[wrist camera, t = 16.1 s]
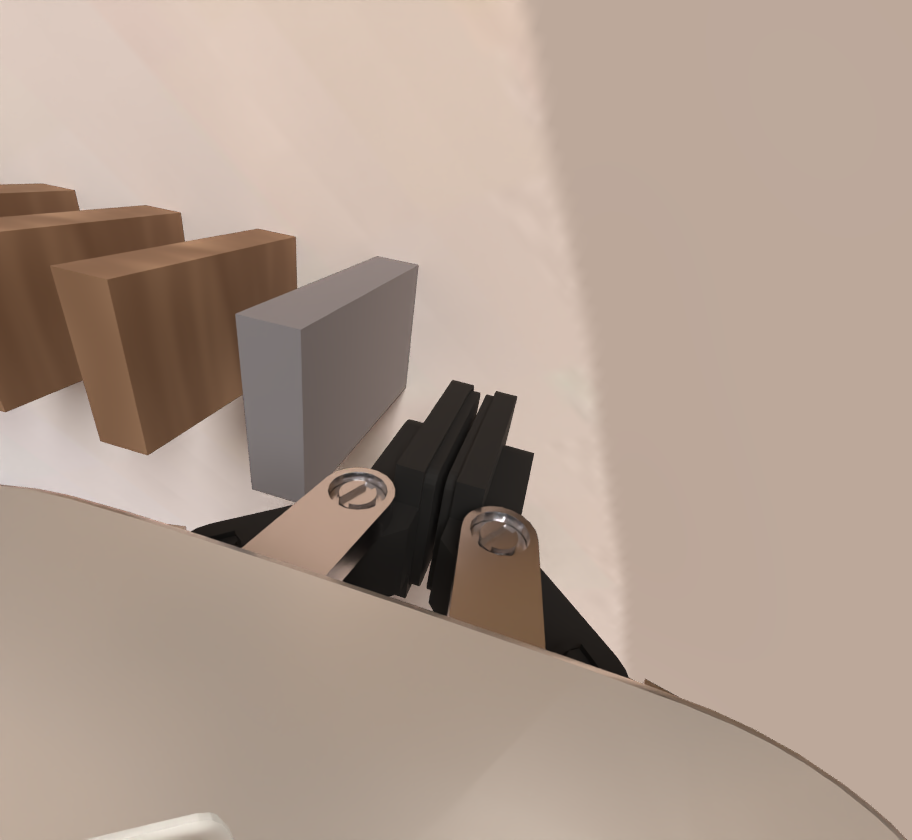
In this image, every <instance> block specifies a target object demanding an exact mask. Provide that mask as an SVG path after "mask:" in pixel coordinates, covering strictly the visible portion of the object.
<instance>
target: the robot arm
mask: <svg viewBox="0 0 912 840" xmlns="http://www.w3.org/2000/svg"><path fill="white" fill-rule="evenodd" d="M479 400H480V393H479V392H475V391H474V385H470V384H466V383H463V382H459V381H455V380H452V381H451V383H450V384H449V386H448V387H447V389H446V390H445V392H444V393H443V395H442V396H441V398H440V399H439V401H438V402H437V404H436V405H435V407H434V408H433V410H432V411H431V413H430V414H429V416H428V417H427V419H426V420H425V422H424V423H421V422H418V421H414V420H407V421H406V422H405V424H404V425H403V426H402V428H401V429H400V430H399V432H398V433H397V434H396V436H395V437H394V438H393V440H392V441H391V442H390V444H389V445H388V446H387V448H386V449H385V450H384V452H383V453H382V455H381V456H380V457H379V459H378V460H377V461H376V463H375V464H374V465H373V467H372V468H371V469H369V468H361V467H353V468H345V469H342V470H339V471H336V472H334V473H332V474H331V475H329V476H327V477H326V478H325V479H324V480H323V481H321V482H320V483H319V484H318V485H317V486H315V487H314V488H313V489H312V490H311V491H309V492H308V493H307V494H306V495H305V496H303V497H302V498H301V499H300V500H299V501H297V502H296V503H295V504H294V505H291V506H286V507H282V508H277V509H273V510H269V511H264V512H260V513H255V514H251V515H247V516H242V517H238V518H233V519H229V520H225V521H220V522H216V523H212V524H208V525H205V526H202V527H199V528H196V529H195V530H193V531H191V532H190V531H187V530H186V526H179V525H171V524H165V523H162V522H159V521H156V520H153V519H149V518H146V517H143V516H140V515H137V514H134V513H131V512H127V511H124V510H120V509H117V508H113V507H110V506H106V505H102V504H99V503H95V502H92V501H88V500H85V499H81V498H78V497H74V496H70V495H66V494H61V493H56V492H51V491H47V490H42V489H36V488H27V487H17V486H8V485H0V840H907V839H906V838H905V837H904V836H903V835H902V834H901V833H900V832H899V831H898V830H897V829H896V828H895V827H894V825H892V823H890V822H889V821H888V820H887V819H886V818H884V817H883V816H882V815H881V814H880V813H879V812H878V811H876V810H875V809H874V808H873V807H872V806H871V805H869V804H868V803H867V802H866V801H865V800H863V799H862V798H861V797H859V796H858V795H857V794H856V793H854V792H853V791H851V790H850V789H849V788H848V787H847V786H845V785H844V784H843V783H841V782H840V781H838V780H837V779H835V778H834V777H832V776H831V775H829V774H828V773H826V772H825V771H823V770H822V769H820V768H819V767H817V766H816V765H814V764H813V763H811V762H810V761H809V760H807V759H805V758H804V757H802V756H801V755H800V754H798V753H796V752H794V751H793V750H791V749H789V748H787V747H785V746H784V745H781V744H780V743H778V742H776V741H775V740H773V739H771V738H769V737H767V736H766V735H764V734H762V733H760V732H758V731H757V730H754V729H753V728H751V727H748V726H746V725H744V724H742V723H740V722H737V721H735V720H733V719H731V718H729V717H727V716H724V715H722V714H720V713H718V712H716V711H714V710H711V709H709V708H706V707H703V706H701V705H698V704H695V703H693V702H690V701H688V700H685V699H682V698H680V697H678V696H676V695H674V694H672V693H671V692H669V691H667V690H665V689H663V688H661V687H660V686H658V685H656V684H654V683H652V682H650V681H649V680H647V679H645V680H644V682H643V683H640V682H637V681H635V680H633V679H631V678H629V677H628V675H627V672H626V670H625V668H624V667H623V665H622V664H621V662H620V661H619V659H618V658H617V657H616V655H615V654H614V653H613V652H612V651H611V650H610V648H609V647H608V646H607V645H606V644H605V643H604V641H603V640H602V639H601V638H600V637H599V636H598V634H597V633H596V632H595V631H594V630H593V629H592V627H591V626H590V625H589V624H588V623H587V622H586V620H585V619H584V618H583V617H582V616H581V615H580V613H579V612H578V611H577V610H576V609H575V608H574V606H573V605H572V604H571V603H570V602H569V601H568V599H567V598H566V597H565V596H564V595H563V594H562V592H561V591H560V590H559V589H558V588H557V587H556V585H555V584H554V583H553V582H552V581H551V580H550V578H549V577H548V576H547V575H546V574H545V573H544V571H543V570H542V569H541V568H540V557H539V542H538V537H537V533H536V530H535V529H534V527H533V526H532V524H531V523H530V522H529V521H528V520H527V519H525V518H524V517H523V516H522V515H521V514H522V509H523V505H524V500H525V495H526V490H527V485H528V481H529V476H530V471H531V466H532V461H533V456H534V453H532V452H528V451H524V450H521V449H517V448H513V447H509V446H506V445H505V444H506V440H507V436H508V432H509V428H510V424H511V420H512V416H513V412H514V408H515V404H516V400H517V396H513V395H509V394H506V393H502V392H498V391H496V392H495V395H494V396H490V395H486V396H485V398H484V401H483V403H482V405H481V407H480V409H479V411H478V413H477V409H478V404H479ZM476 414H477V415H476ZM431 559H432V560H431ZM430 561H431V565H430V571H429V576H428V582H427V589H430V590H431V593H430V598H429V604H430V606H431V608H432V609H433V611H434V612H433V611H430V610H427V609H424V608H421V607H418V606H415V605H412V604H409V603H406V602H403V601H400V600H397V599H394V598H391V597H389V596H392V595H397V596H400V597H403V598H406V596H407V593H408V591H409V589H410V587H411V584H414V585H417V586H420V585H421V582H422V580H423V578H424V575H425V573H426V571H427V568H428V566H429V563H430Z"/></svg>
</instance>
